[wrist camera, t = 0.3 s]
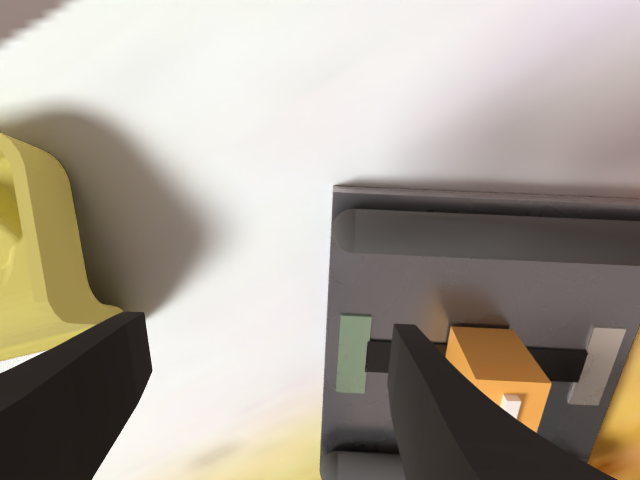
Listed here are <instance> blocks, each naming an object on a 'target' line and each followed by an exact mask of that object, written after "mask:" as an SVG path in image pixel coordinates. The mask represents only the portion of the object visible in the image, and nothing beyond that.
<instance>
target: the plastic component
mask: <svg viewBox="0 0 640 480" xmlns="http://www.w3.org/2000/svg"><path fill="white" fill-rule="evenodd" d="M121 312H124V311H123V310H122V309H121V308H119V307H116V306H113V305H105V304H102V303H100V302H99V301H98V300H97V299H96V298H95V296H94V295H93V293H92V291H91V289H90V287H89V284H88V280H87V275H86V270H85V264H84V259H83V253H82V247H81V242H80V236H79V231H78V225H77V219H76V214H75V208H74V203H73V197H72V191H71V186H70V181H69V179H68V176H67V173H66V172H65V170H64V169H63V167H62V165H61V164H60V163H59V161H58V160H57V159H55V158H54V157H53V156H52V155H51V154H49V153H48V152H46V151H44V150H42V149H40V148H37V147H35V146H32V145H30V144H27V143H25V142H22V141H20V140H17V139H15V138H12V137H10V136H7V135H5V134H2V133H0V361H4V360H8V359H12V358H16V357H21V356H25V355H29V354H33V353H37V352H42V351H46V350H50V349H52V348H54V347H56V346H57V345H59V344H61V343H63V342H65V341H67V340H69V339H71V338H72V337H74V336H76V335H78V334H80V333H82V332H84V331H85V330H87V329H89V328H91V327H93V326H95V325H97V324H99V323H100V322H102V321H104V320H106V319H108V318H110V317H112V316H114V315H116V314H119V313H121Z"/></svg>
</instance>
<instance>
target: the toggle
mask: <svg viewBox="0 0 640 480" xmlns="http://www.w3.org/2000/svg"><path fill="white" fill-rule="evenodd" d="M445 357H446V358H447V359H448V360H449V362H450V363H451V364H452V365H453V366H454V367H455V368H456V369H457V370H459V371H460V372H461V373H462V374H463V375H464V376H465V377H466V378H467V379H468V380H469V381H470V382H471V383H473V384H474V385H475V386H476V387H477V388H478V389H479V390H480V391H481V392H483V393H484V394H485V395H486V396H487V397H489V398H490V399H491V400H492V401H493V402H495V403H496V404H497V405H499V406H500V407H501V408H503V409H504V410H505V411H506V412H508V413H509V414H510V415H512V416H513V417H514V418H516V419H517V420H519V421H520V422H521V423H523V424H524V425H526V426H527V427H528V428H530V429H532V430H533V431H535V432H536V433H537V430H538V427H539V423H540V420H541V417H542V413H543V410H544V407H545V404H546V400H547V397H548V394H549V391H550V387H551V384H552V383H551V382H550V380H549V379H548V377H547V376H546V375H545V373H544V372H543V370H542V369H541V368H540V366H539V365H538V363H537V362H536V361H535V359H534V358H533V356H532V355H531V354H530V352H529V351H528V349H527V348H526V347H525V345H524V344H523V342H522V341H521V340H520V338H519V337H518V335H517V334H516V333H515V331H514V330H513V329H494V328H473V327H453V326H451V328H450V334H449V339H448V345H447V351H446V356H445Z"/></svg>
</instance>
